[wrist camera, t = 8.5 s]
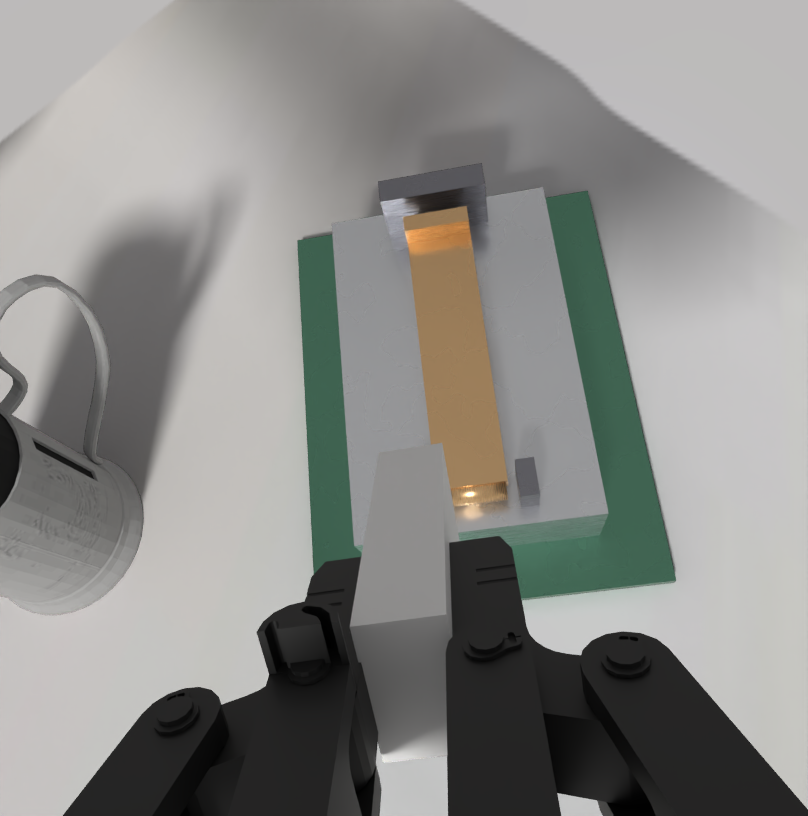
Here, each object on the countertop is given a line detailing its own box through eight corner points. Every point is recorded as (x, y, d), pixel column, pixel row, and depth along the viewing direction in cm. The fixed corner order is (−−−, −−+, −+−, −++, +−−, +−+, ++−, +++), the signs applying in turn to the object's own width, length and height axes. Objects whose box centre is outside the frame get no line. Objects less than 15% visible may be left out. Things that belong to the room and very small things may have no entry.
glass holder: (-41, 554, 42) (-322, 478, 28) (128, 352, 45) (-51, 194, 31) (66, 649, 39) (-189, 617, 25) (238, 426, 42) (95, 289, 28)
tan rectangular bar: (510, 502, 33) (509, 488, 30) (441, 511, 33) (435, 498, 31) (470, 235, 38) (466, 205, 35) (410, 244, 38) (402, 217, 36)
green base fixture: (673, 582, 36) (711, 549, 28) (319, 623, 37) (267, 603, 30) (586, 197, 44) (598, 94, 36) (300, 246, 46) (256, 157, 38)
